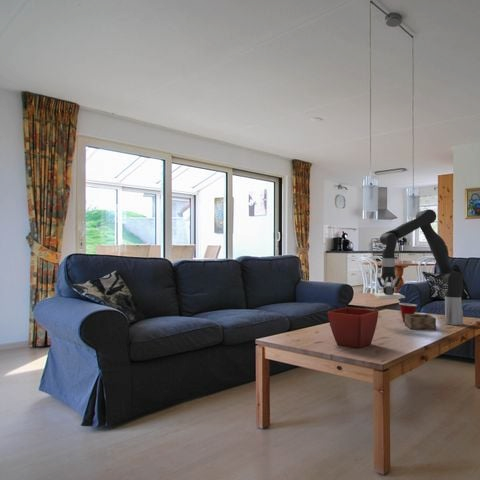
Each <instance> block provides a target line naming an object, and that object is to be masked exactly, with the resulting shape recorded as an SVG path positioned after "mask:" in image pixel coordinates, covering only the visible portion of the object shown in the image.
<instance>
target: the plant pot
mask: <svg viewBox="0 0 480 480" xmlns="http://www.w3.org/2000/svg"><path fill="white" fill-rule="evenodd" d="M327 317H328V322H329V326H330V329H331V332H332V336H333V338H334V341H335V343H336V344H337V345H340V346H344V347H345V346H346V347H350V348H357V349H359V348H363V347H366V346H368V345H371V344H372V341H373V340H374V339H373V338H374V335H375V333H376V328H377V326H378V325H377V324H378V319H379V310H375V309H365V308H355V307H343V308H338V309H333V310H329V311H327Z"/></svg>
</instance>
